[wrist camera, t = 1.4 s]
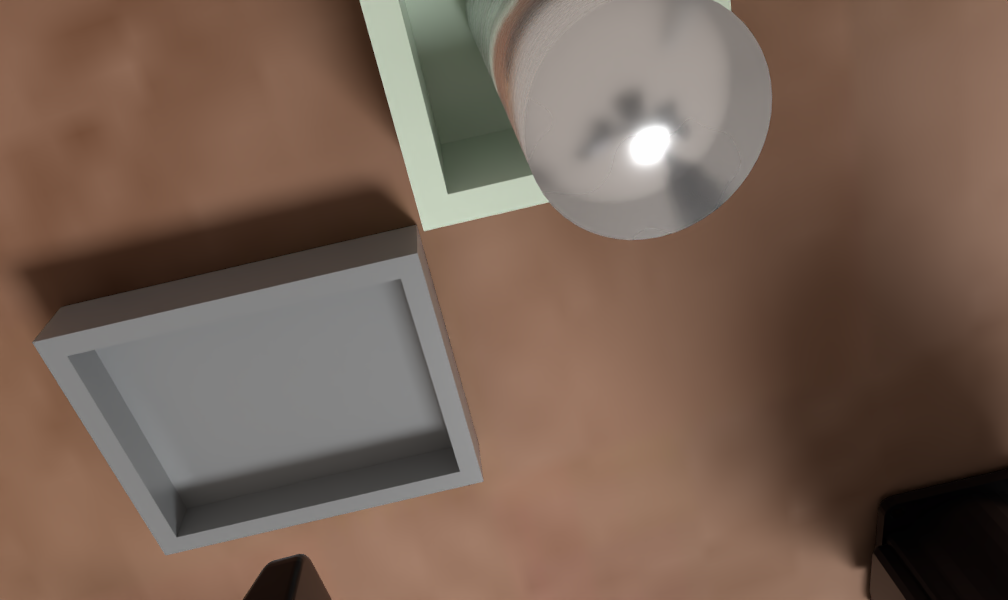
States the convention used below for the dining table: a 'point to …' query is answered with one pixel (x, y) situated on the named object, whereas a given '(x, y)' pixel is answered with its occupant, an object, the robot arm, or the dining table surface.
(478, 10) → the pin
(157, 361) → the tray
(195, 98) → the dining table surface
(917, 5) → the dining table surface
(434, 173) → the pale green square box
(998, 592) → the robot arm
